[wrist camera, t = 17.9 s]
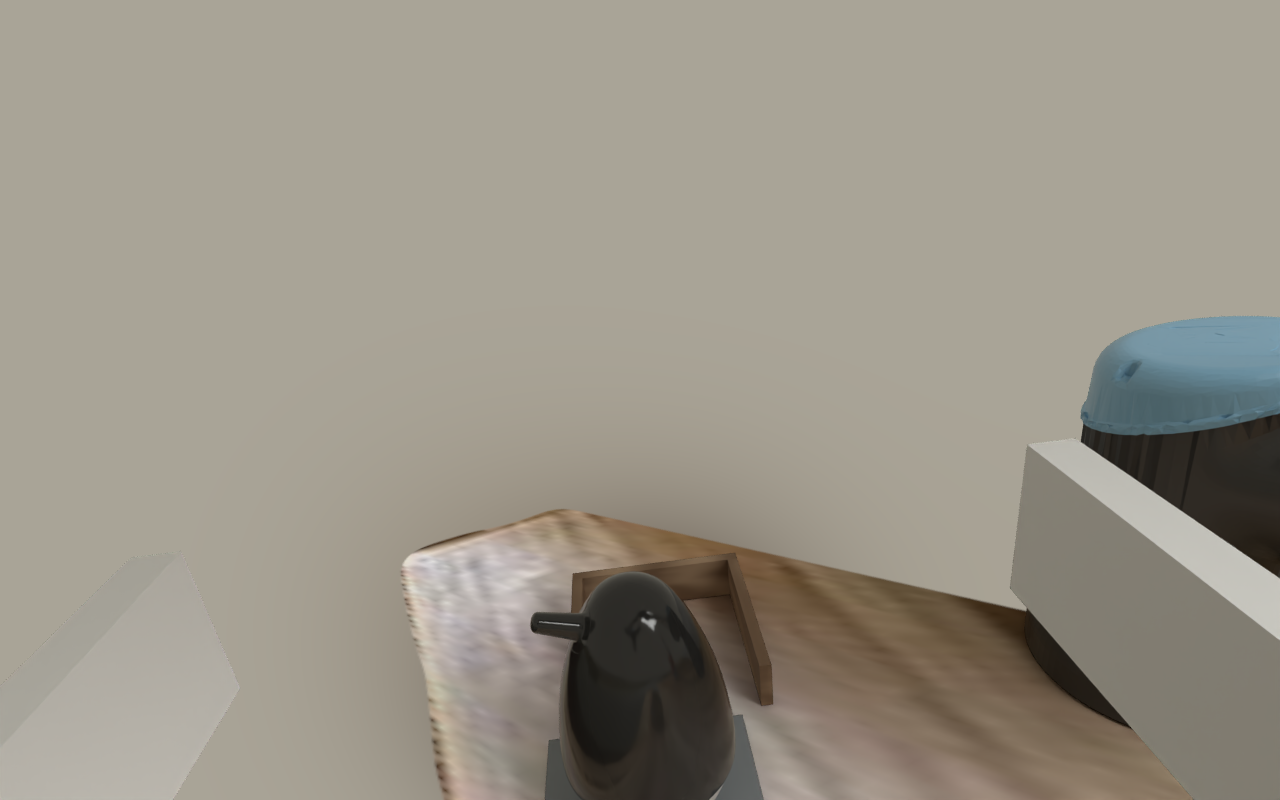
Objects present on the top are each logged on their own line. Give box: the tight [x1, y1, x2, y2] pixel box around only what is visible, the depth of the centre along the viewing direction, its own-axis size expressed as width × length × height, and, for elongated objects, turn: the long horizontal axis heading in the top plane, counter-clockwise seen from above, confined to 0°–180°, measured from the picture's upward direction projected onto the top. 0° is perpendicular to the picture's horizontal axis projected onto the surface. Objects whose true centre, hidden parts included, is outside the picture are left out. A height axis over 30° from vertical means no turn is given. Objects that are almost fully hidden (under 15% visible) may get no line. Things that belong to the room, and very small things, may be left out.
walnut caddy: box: [571, 553, 773, 706], centre depth 53 cm, size 14×13×4 cm
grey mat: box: [545, 715, 764, 800], centre depth 43 cm, size 13×9×1 cm
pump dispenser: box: [530, 571, 736, 800], centre depth 40 cm, size 10×10×15 cm
